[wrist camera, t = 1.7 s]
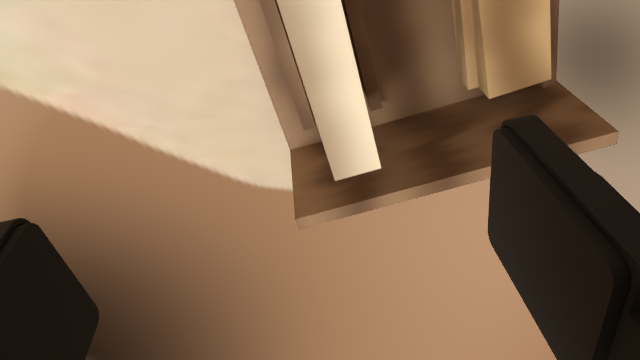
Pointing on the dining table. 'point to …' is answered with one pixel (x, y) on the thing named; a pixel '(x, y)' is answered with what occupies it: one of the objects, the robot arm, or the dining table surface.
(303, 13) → the birch panel
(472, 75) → the offcut lower
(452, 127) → the rack
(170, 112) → the dining table surface
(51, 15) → the dining table surface
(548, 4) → the offcut upper
